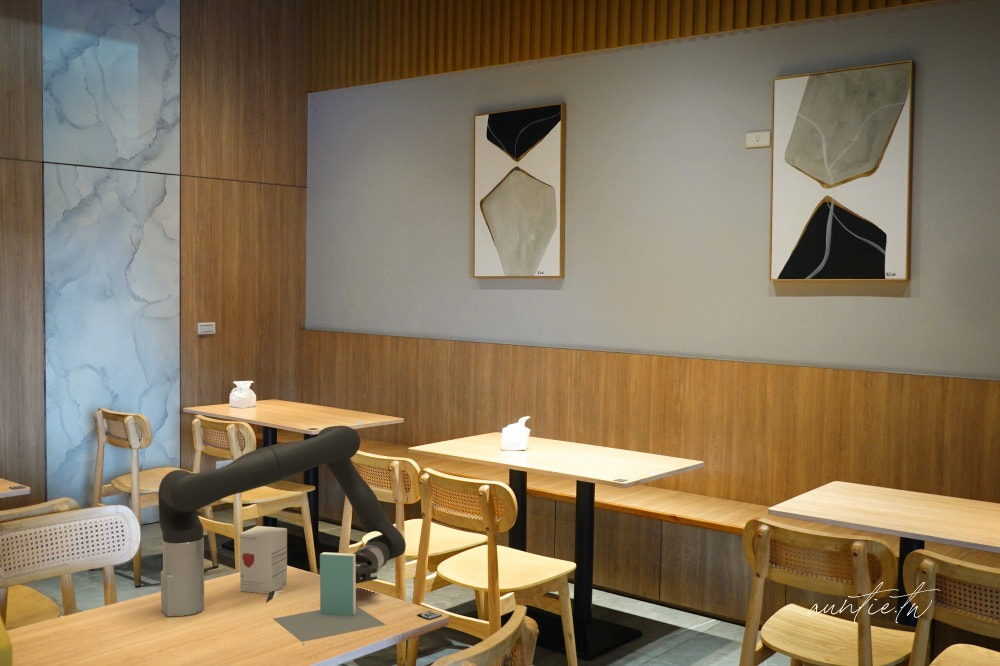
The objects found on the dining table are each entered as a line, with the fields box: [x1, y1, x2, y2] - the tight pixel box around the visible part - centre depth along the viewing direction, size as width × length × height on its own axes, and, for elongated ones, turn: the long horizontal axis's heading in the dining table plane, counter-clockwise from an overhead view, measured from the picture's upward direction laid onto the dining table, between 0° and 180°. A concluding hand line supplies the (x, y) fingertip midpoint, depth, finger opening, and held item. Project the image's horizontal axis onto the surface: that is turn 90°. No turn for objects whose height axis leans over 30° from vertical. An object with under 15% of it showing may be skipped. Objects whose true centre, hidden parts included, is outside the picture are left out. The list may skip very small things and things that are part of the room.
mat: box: [272, 605, 387, 643], centre depth 220 cm, size 20×18×1 cm
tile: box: [319, 551, 357, 616], centre depth 225 cm, size 2×8×14 cm, turn 78°
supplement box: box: [239, 525, 288, 595], centre depth 247 cm, size 9×9×15 cm
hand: (339, 582), depth 226 cm, fingers closed
